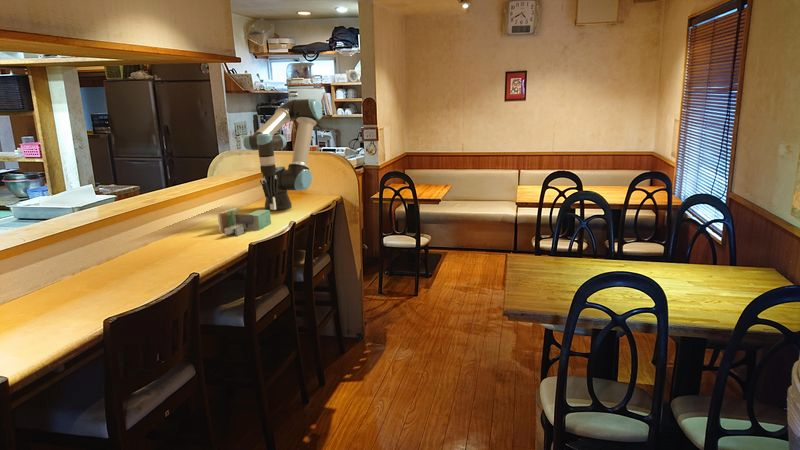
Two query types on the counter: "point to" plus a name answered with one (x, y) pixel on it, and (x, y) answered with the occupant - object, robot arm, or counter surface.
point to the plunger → (240, 222)
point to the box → (259, 220)
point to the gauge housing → (229, 222)
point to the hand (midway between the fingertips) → (273, 209)
